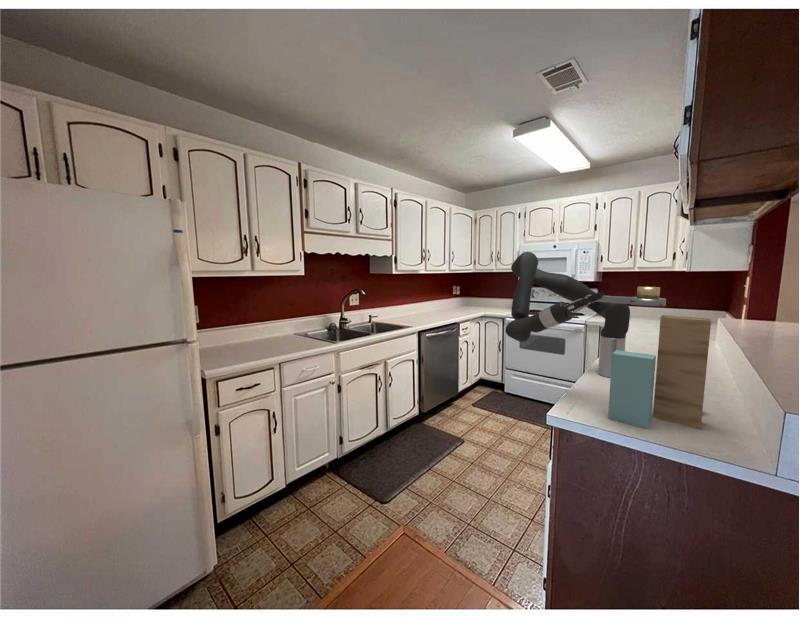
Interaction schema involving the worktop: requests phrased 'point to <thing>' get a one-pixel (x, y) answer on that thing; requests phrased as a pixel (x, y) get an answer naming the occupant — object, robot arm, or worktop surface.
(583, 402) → the worktop surface
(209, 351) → the worktop surface
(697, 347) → the tall stand
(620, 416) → the tall block
